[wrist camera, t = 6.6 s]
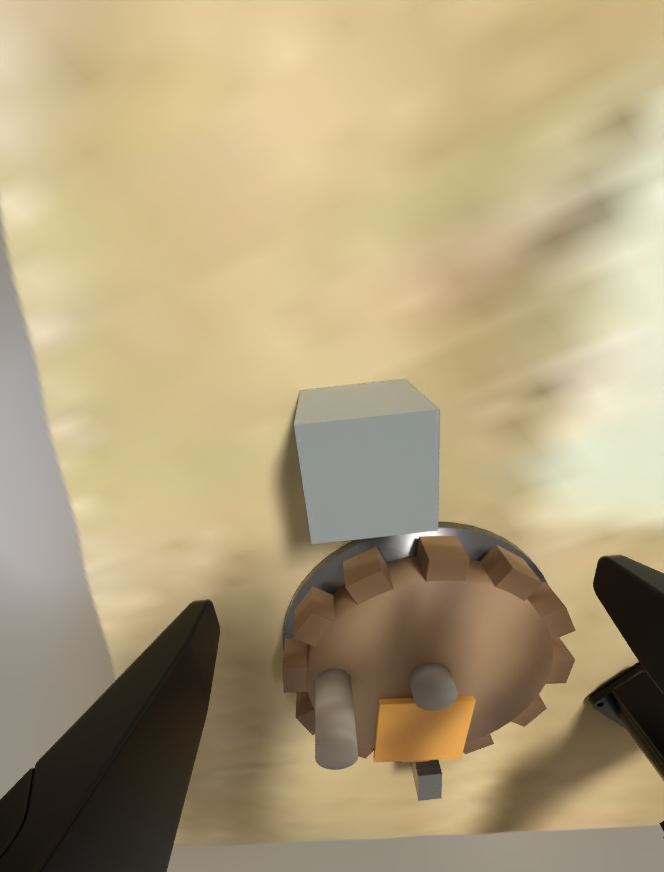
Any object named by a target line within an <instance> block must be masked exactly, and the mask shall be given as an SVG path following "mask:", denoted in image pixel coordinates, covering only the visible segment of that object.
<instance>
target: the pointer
mask: <svg viewBox="0 0 664 872" xmlns="http://www.w3.org/2000/svg"><path fill="white" fill-rule="evenodd" d="M411 767H412V772H413V777H414V781H415V786H416V791H417V796H418V801H420V800H429V799H438V798H441V788H442V772H441V768H440V765H439V761H438V760H430V761H423V762H411Z"/></svg>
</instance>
